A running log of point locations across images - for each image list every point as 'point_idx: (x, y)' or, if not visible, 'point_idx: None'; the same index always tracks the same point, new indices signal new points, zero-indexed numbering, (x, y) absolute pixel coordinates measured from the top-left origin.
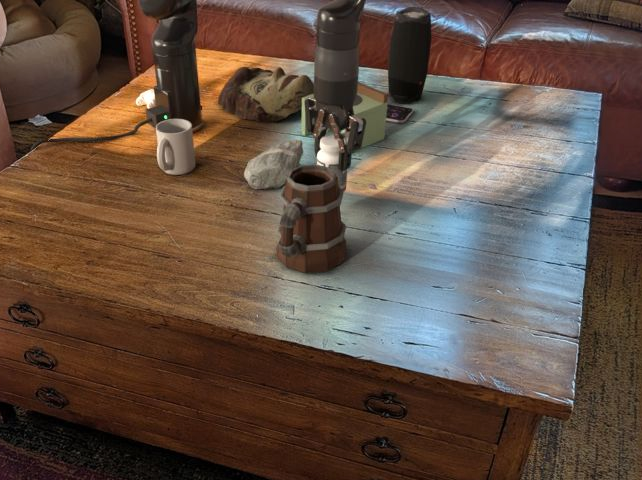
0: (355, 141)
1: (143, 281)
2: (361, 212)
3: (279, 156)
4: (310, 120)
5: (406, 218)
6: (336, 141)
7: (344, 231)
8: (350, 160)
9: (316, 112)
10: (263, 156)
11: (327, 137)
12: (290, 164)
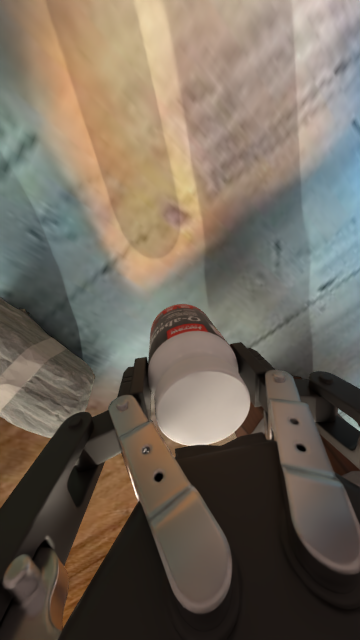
0: (328, 401)
1: None
2: (238, 298)
3: (44, 404)
4: (85, 510)
5: (305, 243)
6: (216, 403)
7: (339, 415)
8: (263, 360)
9: (52, 524)
10: (17, 419)
11: (171, 415)
12: (76, 382)
